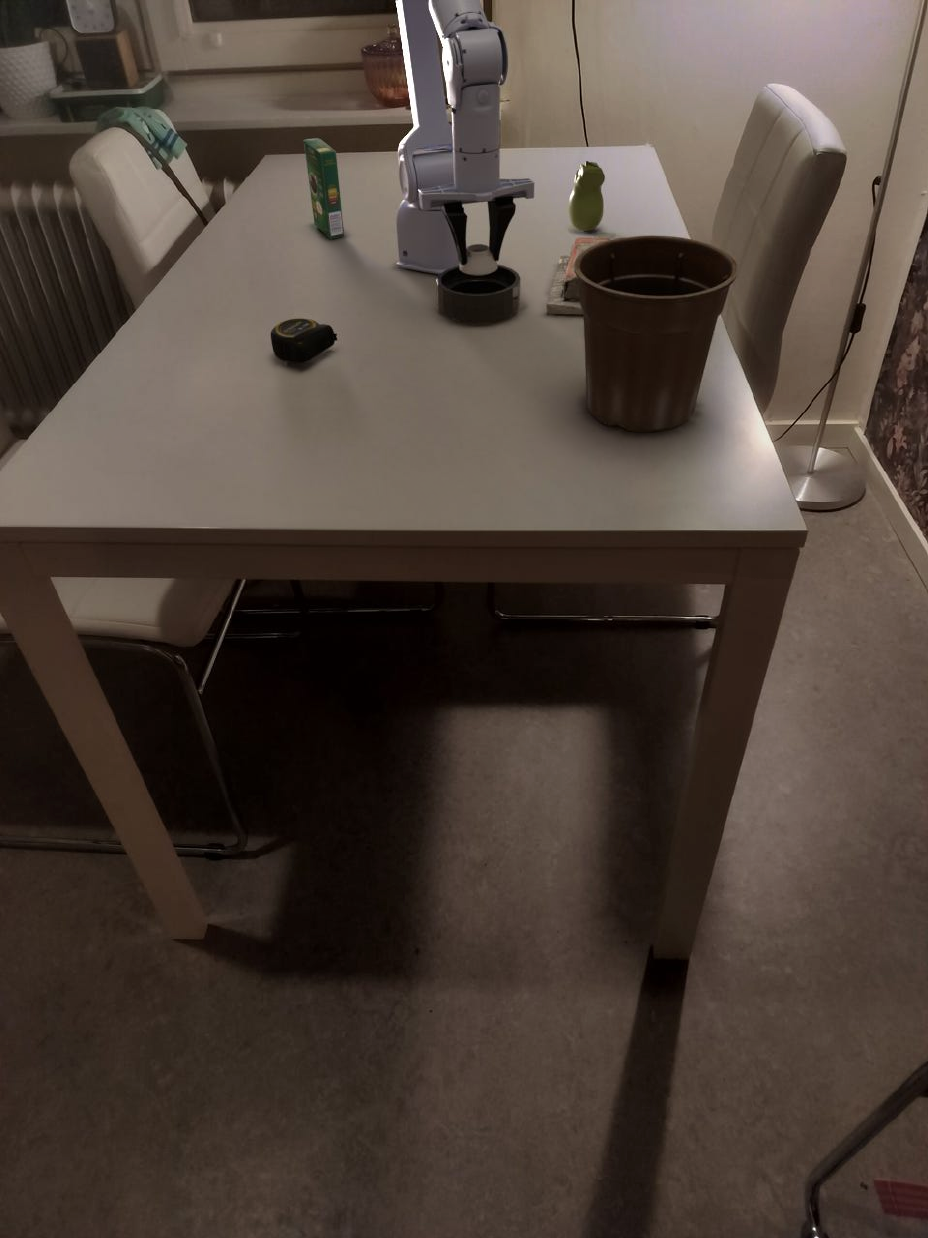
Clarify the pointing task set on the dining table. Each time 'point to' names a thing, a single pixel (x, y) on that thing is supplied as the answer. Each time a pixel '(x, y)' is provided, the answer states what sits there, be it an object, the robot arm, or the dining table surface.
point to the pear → (587, 197)
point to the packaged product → (569, 280)
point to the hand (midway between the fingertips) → (478, 260)
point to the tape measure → (301, 339)
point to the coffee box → (324, 187)
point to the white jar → (479, 261)
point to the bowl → (478, 294)
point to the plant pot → (649, 326)
